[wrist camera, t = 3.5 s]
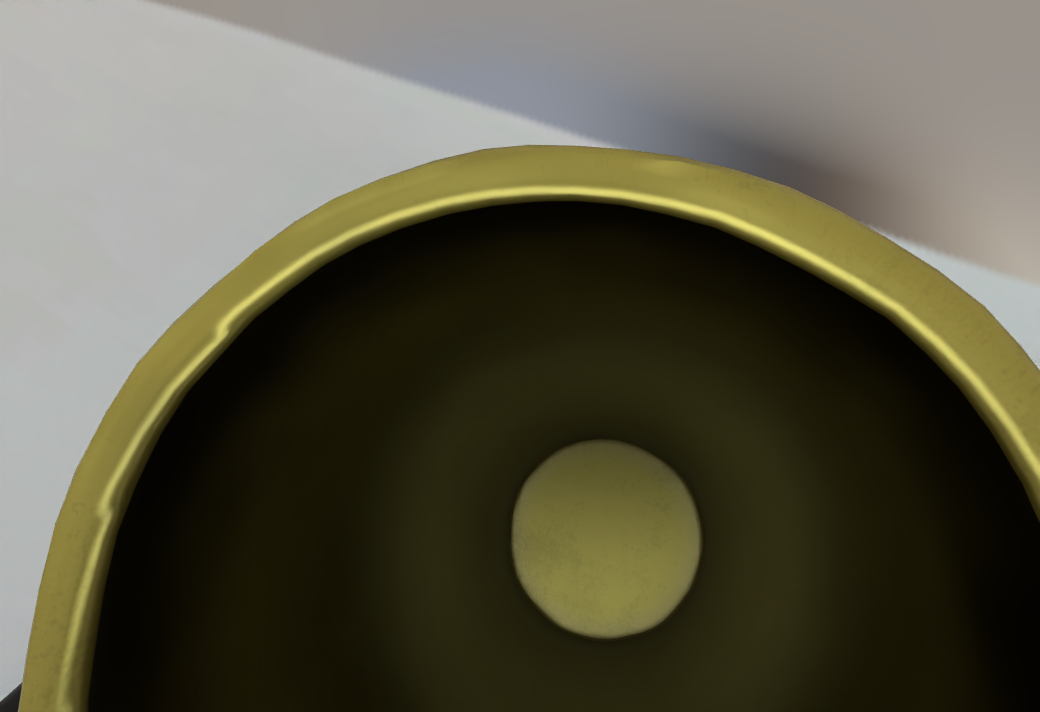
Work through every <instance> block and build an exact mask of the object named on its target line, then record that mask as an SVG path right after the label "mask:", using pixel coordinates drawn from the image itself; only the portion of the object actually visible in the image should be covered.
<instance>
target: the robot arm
mask: <svg viewBox="0 0 1040 712" xmlns="http://www.w3.org/2000/svg"><path fill="white" fill-rule="evenodd" d="M21 689H22V683H21V684H20V685H19V686H18V687H17V688H15V689H14V690H13V691H12V692H11V693H10V694H9V695H8V696H6V697H5V698H4V699H3V700H2V701H1V702H0V712H18V709H19V702H20V696H21Z"/></svg>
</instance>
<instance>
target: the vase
mask: <svg viewBox="0 0 1040 712" xmlns="http://www.w3.org/2000/svg"><path fill="white" fill-rule="evenodd" d="M18 712H1040V370H1039V369H1038V368H1037V366H1036V365H1035V364H1034V362H1033V361H1032V360H1031V359H1030V357H1029V356H1028V355H1027V353H1026V352H1025V351H1024V349H1023V348H1022V347H1021V346H1020V345H1019V344H1018V343H1017V341H1016V340H1015V339H1014V338H1013V337H1012V336H1011V335H1010V334H1009V333H1008V332H1007V330H1006V329H1005V328H1004V327H1003V326H1002V325H1001V324H1000V323H999V322H998V321H997V319H996V318H995V317H994V316H993V315H992V314H991V313H990V312H989V311H988V310H987V308H986V307H985V306H984V305H982V304H981V303H980V302H978V301H977V300H976V299H975V298H973V297H972V296H971V295H969V294H968V293H967V292H965V291H964V290H963V289H962V288H960V287H959V286H958V285H956V284H955V283H954V282H953V281H951V280H950V279H949V278H947V277H946V276H945V275H944V274H942V273H941V272H940V271H938V270H937V269H935V268H934V267H932V266H930V265H929V264H927V263H926V262H924V261H923V260H921V259H919V258H918V257H916V256H915V255H913V254H912V253H910V252H908V251H907V250H905V249H904V248H902V247H901V246H899V245H897V244H896V243H894V242H893V241H891V240H890V239H888V238H886V237H885V236H883V235H881V234H879V233H878V232H876V231H874V230H872V229H871V228H869V227H867V226H865V225H863V224H862V223H860V222H858V221H856V220H855V219H853V218H851V217H849V216H848V215H846V214H844V213H842V212H841V211H839V210H837V209H835V208H833V207H831V206H829V205H826V204H824V203H822V202H820V201H818V200H816V199H813V198H811V197H809V196H807V195H805V194H803V193H801V192H799V191H796V190H794V189H792V188H790V187H788V186H785V185H781V184H778V183H775V182H772V181H769V180H765V179H762V178H759V177H756V176H753V175H750V174H747V173H743V172H741V171H738V170H734V169H730V168H726V167H722V166H717V165H713V164H709V163H704V162H700V161H696V160H692V159H688V158H683V157H679V156H670V155H663V154H656V153H649V152H641V151H634V150H626V149H613V148H599V147H585V146H558V145H524V146H513V147H502V148H491V149H482V150H478V151H474V152H470V153H465V154H461V155H457V156H452V157H448V158H444V159H440V160H435V161H432V162H429V163H426V164H423V165H420V166H417V167H414V168H411V169H408V170H405V171H402V172H399V173H396V174H393V175H390V176H387V177H384V178H381V179H379V180H377V181H374V182H372V183H370V184H367V185H365V186H363V187H360V188H358V189H356V190H353V191H351V192H349V193H346V194H344V195H342V196H339V197H337V198H335V199H333V200H331V201H329V202H327V203H326V204H324V205H322V206H321V207H319V208H317V209H316V210H314V211H312V212H310V213H309V214H307V215H305V216H304V217H302V218H300V219H299V220H297V221H295V222H294V223H292V224H291V225H290V226H288V227H287V228H285V229H284V230H283V231H281V232H280V233H279V234H277V235H276V236H275V237H273V238H272V239H271V240H269V241H268V242H267V243H265V244H264V245H263V246H261V247H260V248H259V249H257V250H256V251H254V252H253V253H252V254H251V255H250V256H249V257H248V258H247V259H246V260H244V261H243V262H242V263H241V264H240V265H238V266H237V267H236V268H235V269H233V270H232V271H231V272H230V273H228V274H227V275H226V276H225V277H223V278H222V279H221V280H220V281H219V282H217V283H216V284H215V285H214V286H213V287H212V288H210V289H209V290H208V291H207V292H206V293H205V294H204V295H203V296H202V297H201V298H200V299H198V300H197V301H196V302H195V303H194V304H193V305H192V306H191V307H190V308H189V309H188V310H186V311H185V312H184V313H183V314H182V315H181V316H180V317H179V318H178V319H177V320H176V321H174V322H173V323H172V325H171V326H170V327H169V328H168V329H167V330H166V331H165V333H164V334H163V335H162V336H161V337H160V338H159V339H158V340H157V342H156V343H155V344H154V345H153V346H152V347H151V348H150V349H149V351H148V352H147V353H146V354H145V355H144V356H143V357H142V358H141V360H140V361H139V362H138V363H137V364H136V366H135V367H134V369H133V371H132V372H131V374H130V375H129V377H128V379H127V380H126V382H125V383H124V385H123V386H122V388H121V390H120V391H119V393H118V394H117V396H116V397H115V399H114V401H113V402H112V404H111V405H110V407H109V409H108V410H107V412H106V413H105V415H104V417H103V419H102V421H101V423H100V425H99V427H98V429H97V430H96V432H95V434H94V436H93V438H92V440H91V442H90V444H89V446H88V447H87V449H86V451H85V453H84V455H83V457H82V459H81V461H80V463H79V465H78V466H77V468H76V471H75V473H74V476H73V479H72V481H71V484H70V487H69V489H68V492H67V494H66V497H65V500H64V502H63V505H62V508H61V510H60V513H59V516H58V518H57V521H56V523H55V528H54V532H53V536H52V540H51V544H50V548H49V552H48V556H47V560H46V564H45V568H44V572H43V576H42V580H41V584H40V588H39V593H38V598H37V603H36V608H35V613H34V619H33V624H32V629H31V634H30V639H29V644H28V649H27V655H26V662H25V668H24V675H23V682H22V689H21V696H20V702H19V709H18Z"/></svg>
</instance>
